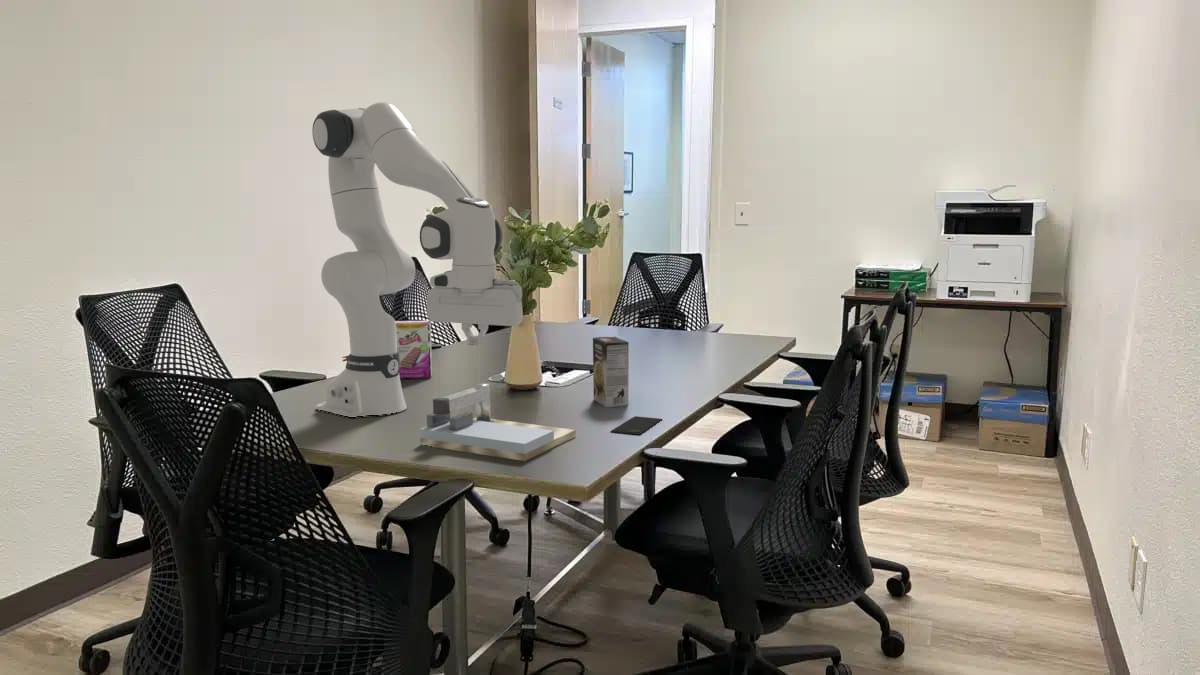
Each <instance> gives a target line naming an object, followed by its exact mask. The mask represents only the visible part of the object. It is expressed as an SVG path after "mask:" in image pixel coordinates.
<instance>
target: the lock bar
mask: <svg viewBox="0 0 1200 675" xmlns="http://www.w3.org/2000/svg"><path fill="white" fill-rule="evenodd" d="M490 385H491V384H490V383H488V382H487V383H483V382H482V383H477V384H475V385H474V387H471V388H468V389H464V390H462V391H459V392H454V393H452V394H448V395H446V396H442V397H437V398H433V399H432V411H433V412H432V413H434V414H438V415H442V414H448V413H450V414H451V412H453V411H457V410H459V409H462V408H465V407H469V406H471V405H474V404H475V418H476V420H477V421H485V422H489V421H491V419H492V418H491V417H492V416H491V390H490V389H491V388H490Z"/></svg>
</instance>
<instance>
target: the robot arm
mask: <svg viewBox="0 0 1200 675" xmlns="http://www.w3.org/2000/svg"><path fill="white" fill-rule="evenodd" d="M311 130H312V131H311V132H312V140H313V142H314V145H315V147H316V149H317V150H318V151H319V153H320V154H321V155H323V156H326V157H328V164H327V165H328V167H327V168H328V169H327V170H328V183H329V185H328V186H329V192H330V196H331V197H330V198H331V202H332V203H331V204H332V208H333V212H334V218H335V223H336V227H337V228H338V230H339V232H340V233H342V234H344V235H345V237H348V239H350V240H351V241H352V243H353V245H354V246H355V248H356V250H357V251H346V252H343V253H339V254H336V255H333V256H330V257H329V258H327V260H326V261H324V263H323V265H322V268H321V283H322V285H323V287H324V289H325V290H326V292H327V293H328V294H329V295H330V296H331V297H333V298H334V299H336V300H337V302H338V303H339V305H340V307H341V308H342V311H343V313H344V315H345V318H346V322H347V325H348V326H347V327H348V334H349V336H348V337H349V348H350V353H349V354H348V355H345V356H342V357H341V358H342V360H341V361H342V362H346V364H345V369H344V370H342V371H341V372H340V373H339V374H338V375H337V376H336V377H334V378H333V379H332V380H331V381H330V382H329V383H328V384H327V386H326V390H325V400H324V401H322V402H320V403H317V404H316V406H315V409H316V408H319V409H323V410H327V411H330V412H335V413H339V414H343V415H347V416H361V415H379V416H383V415H382V414H387V415H392V414H391V413H393V414H396V412H397V413H400V412H403V411H404V410H406V409H407V407H408V406H407V404H406V400H405V397H404V396H405V395H404V392H403V388H402V382H401V379H400V375H399V367H400V356H399V352H398V351H397V333H396V322H395V321H396V320H395V319H394V316H392V315H390V314H389V313H388V312H386V311H385V309H384V308H383V306H382V303H381V300H380V299H381V298H380V296H382V295H390V294H391V295H392V294H396V293H398V292H400V291H402V290H404V289H407V288H409V287H410V286H411V285H412V284H413V282H414V281H415V277H416V270H417V269H416V266H415V265H416V264H415V261H414V260H413V258H412V257H411V255H410V254H409V253H407V252H406V251H404V250H403V248H402V247H401V246H400V245H398V242H396V240H395V239H394V237H393V235H392V233H391V231H390V229H389V228H388V227H389V226H388V224H387V222H386V220H385V219H386V218H385V215H384V211H383V206H382V202H381V196H380V192H379V187H378V182H377V179H376V178H377V177H376V174H375V165H376V166H377V168H378V170H379V171H380V172H381V173H382V175H384V177H385V178H387V180H388V181H389V182H390V181H391V182H392V183H394V184H397V185H399V186H404V187H406V188H407V187H408V188H412V189H417V190H421V191H423V192H427V193H429V194H432V195H434V196H436V197H438V198H439V199H440V200H442V202H443V204H445V206H446V207H447V209H445V210H443V211H440V212H438V213H434V214H431V215H429V216H427V217H426V218H425V219H424V221H423V222H422V224H421V226H420V230H419V242H420V247H421V249H422V251H423V252H424V254H426V255H427V256H428V258H431V259H433V260H434V259H435V260H440V261H442V260H443V261H445V260H452V264H451V270H447V271H444V272H443V273H439V274H436V275H433V276H431V277H430V279H429V285H430V286H431V288H430V289H429V291H428V295H427V298H426V299H427V300H426V301H427V302H426V317H427V318H428V321H431V323H433V322H434V323H437V322H438V323H452V324H453V323H454V324H461V330H462V332H463V333H464V335H465V337H466V344H467V346H476V347H478V346H479V347H482V346H483V345H484V336H485V335H486V333H487V332H488V330H489V326H502V327H503V326H504V327H516V326H518V325H520V324H521V323H522V322H523V321H524V312H523V304H522V303H523V302H522V299H523V288H522V285H521V284H520V283H519V282H516V280H514V279H508V280H506V279H500V278H499V279H497V261H496V258H495V255H496V253H497V252H498V250H499V249H500V248H501V246H502V243H503V230H502V226H501V224H500V222H499V221H498V219H497V218H496V217H495V213H494V209H493V206H492V204H491V203H490V202H488V201H487V200H485V199H482V198H476V197H475V196H474V195H473V193H472V192H471V191H470V190H469V189H468V187H467V185H466V184H465V183H464V182H463V180H462V179H461V178H460V177H459V176H458V175H457V173H456V172H455V171H454V170H453V168H451V167H450V166H449V165H448V163H447V164H446V163H445V161H443V160H442V159H440V157H438V156H437V155H436V154H435V153H434V152H432V151H431V150H430V148H429V147H428V146H427V145H426V144H425V143H424V142H423V141H422V139H421V138H420V137H419V135H418V133H417V132H416V130H415V128H414V127H413V126H412V125H411V123H410V122H409V120H408V119H407V117H406V116H405V115H404V114H403V113H402V112H401V111H400V110H399V109H398V108H397V107H396V106H395V105H393V104H391V103H389V102H385V101H382V102H381V101H380V102H379V101H378V102H375V103H372V104H371V105H369V106H368V107H358V108H351V109H348V108H347V109H339V110H337V109H329V110H326V111H322V112H320V113H319V114H317V115H316V118H315V119H314V120H313V124H312V129H311ZM473 325H477V329H478V330H480V331H479V333H478V334H477V335H474V334H473V332H472V330H471V328H472V327H473Z"/></svg>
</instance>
